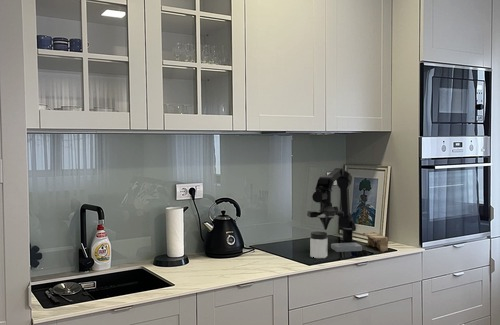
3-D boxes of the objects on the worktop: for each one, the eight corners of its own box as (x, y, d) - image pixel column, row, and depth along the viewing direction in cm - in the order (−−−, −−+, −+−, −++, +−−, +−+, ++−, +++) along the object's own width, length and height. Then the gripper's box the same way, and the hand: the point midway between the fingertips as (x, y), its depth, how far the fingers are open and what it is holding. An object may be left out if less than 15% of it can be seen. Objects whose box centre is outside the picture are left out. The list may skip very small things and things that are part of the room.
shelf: (362, 245, 279) (362, 232, 278) (374, 244, 280) (374, 232, 280) (375, 251, 263) (375, 238, 263) (387, 250, 265) (387, 237, 264)
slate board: (331, 249, 271) (331, 243, 271) (355, 248, 274) (355, 242, 274) (336, 252, 263) (337, 247, 262) (362, 251, 265) (362, 246, 265)
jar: (331, 256, 251) (331, 233, 251) (319, 259, 246) (320, 235, 246) (317, 253, 258) (317, 230, 258) (306, 256, 253) (306, 232, 253)
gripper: (313, 203, 255) (313, 233, 255) (348, 201, 259) (348, 231, 259) (306, 200, 266) (306, 229, 266) (339, 199, 269) (339, 228, 270)
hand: (325, 229), depth 265 cm, fingers closed
